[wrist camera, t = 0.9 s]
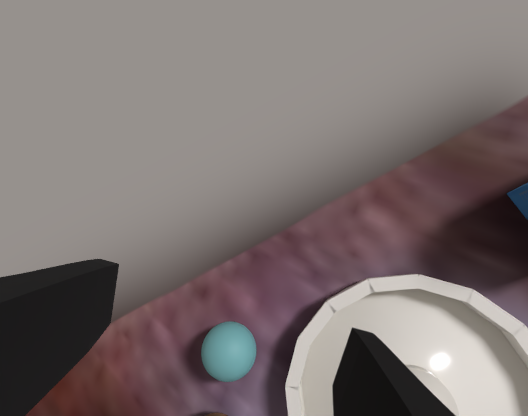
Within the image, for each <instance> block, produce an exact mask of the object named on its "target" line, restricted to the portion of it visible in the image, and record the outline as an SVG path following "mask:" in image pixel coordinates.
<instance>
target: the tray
mask: <svg viewBox="0 0 528 416" xmlns="http://www.w3.org/2000/svg"><path fill="white" fill-rule="evenodd" d="M352 327H353V328H357V329H360V330H364V331H368V332H371V333H373V334H375V335H376V336H377V337H378V338H379V339H380V340H381V341H382V342H383V343H384V344H385V345H386V346H387V347H388V348H389V349H390V350H391V351H392V352H393V353H394V354H395V355H396V356H397V357H398V358H399V359H400V360H401V361H402V362H403V363H404V364H405V366H406V367H407V368H408V369H409V370H410V371H411V372H412V373H413V374H414V375H415V376H416V377H417V378H418V379H419V380H420V381H421V382H422V383H423V384H424V385H425V386H426V387H427V388H428V389H429V390H430V391H431V392H432V393H433V394H434V395H435V396H436V397H437V398H438V399H439V400H440V401H441V402H442V403H443V404H444V405H445V406H446V407H447V408H448V409H449V410H450V411H451V412H452V413H454V414H455V415H456V416H528V328H527V327H526V326H525V325H524V324H523V323H522V322H520V321H519V320H517V319H516V318H514V317H513V316H511V315H510V314H509V313H507V312H506V311H504V310H503V309H501V308H500V307H498V306H497V305H496V304H494V303H493V302H491V301H490V300H488V299H487V298H485V297H484V296H483V295H481V294H480V293H478V292H477V291H475V290H473V289H471V288H467V287H464V286H460V285H456V284H453V283H449V282H446V281H442V280H438V279H435V278H431V277H428V276H424V275H420V274H404V275H393V276H383V277H373V278H367V279H366V278H365V279H364V280H362V281H360V282H358V283H356V284H354V285H352V286H350V287H347V288H345V289H344V290H342V291H341V292H339V293H338V294H336V295H334V296H332V297H330V298H328V299H327V300H326V301H325V302H324V304H323V305H322V306H321V308H320V309H319V310H318V311H317V313H316V314H315V315H314V316H313V318H312V319H311V320H310V322H309V323H308V324H307V326H306V327H305V328H304V330H303V331H302V332H301V333H300V335H299V337H298V339H297V342H296V346H295V350H294V354H293V358H292V361H291V365H290V369H289V373H288V377H287V380H286V384H285V391H286V400H287V409H288V416H334V415H333V392H332V385H333V382H334V379H335V376H336V373H337V370H338V367H339V364H340V361H341V358H342V355H343V352H344V349H345V346H346V344H347V341H348V338H349V335H350V332H351V329H352Z"/></svg>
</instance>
